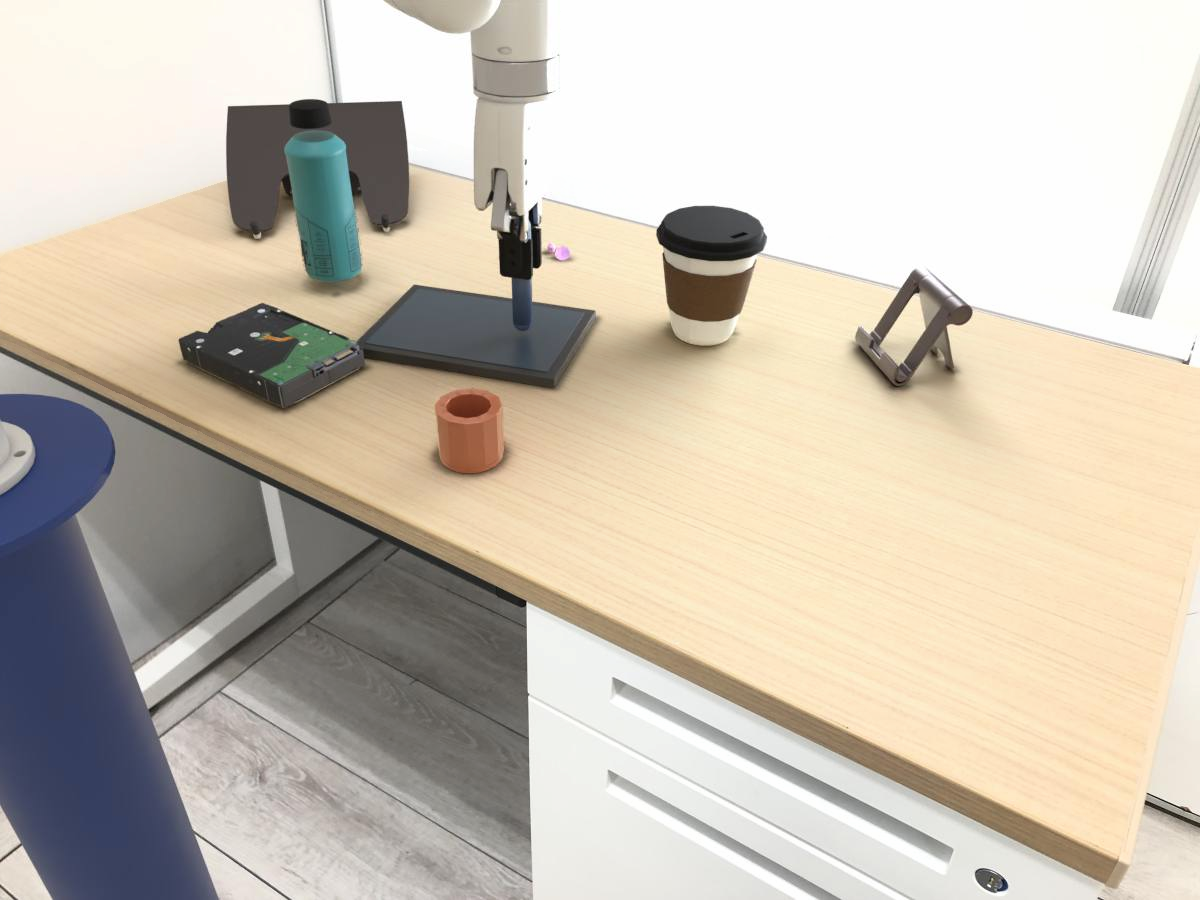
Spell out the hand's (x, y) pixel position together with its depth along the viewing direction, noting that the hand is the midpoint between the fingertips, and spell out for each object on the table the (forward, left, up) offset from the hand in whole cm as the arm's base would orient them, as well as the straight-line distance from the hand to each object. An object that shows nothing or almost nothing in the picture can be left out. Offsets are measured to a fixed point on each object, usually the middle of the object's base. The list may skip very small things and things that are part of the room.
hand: (521, 270), depth 93 cm
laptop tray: (+27, +37, -8) cm, 46 cm away
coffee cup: (+8, -17, -8) cm, 21 cm away
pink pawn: (+22, +3, -8) cm, 24 cm away
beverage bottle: (+7, +25, -8) cm, 27 cm away
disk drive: (-11, +22, -8) cm, 26 cm away
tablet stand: (+8, -38, -8) cm, 40 cm away
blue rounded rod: (0, 0, -7) cm, 7 cm away
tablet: (0, +5, -8) cm, 9 cm away
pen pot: (-20, -2, -8) cm, 22 cm away
